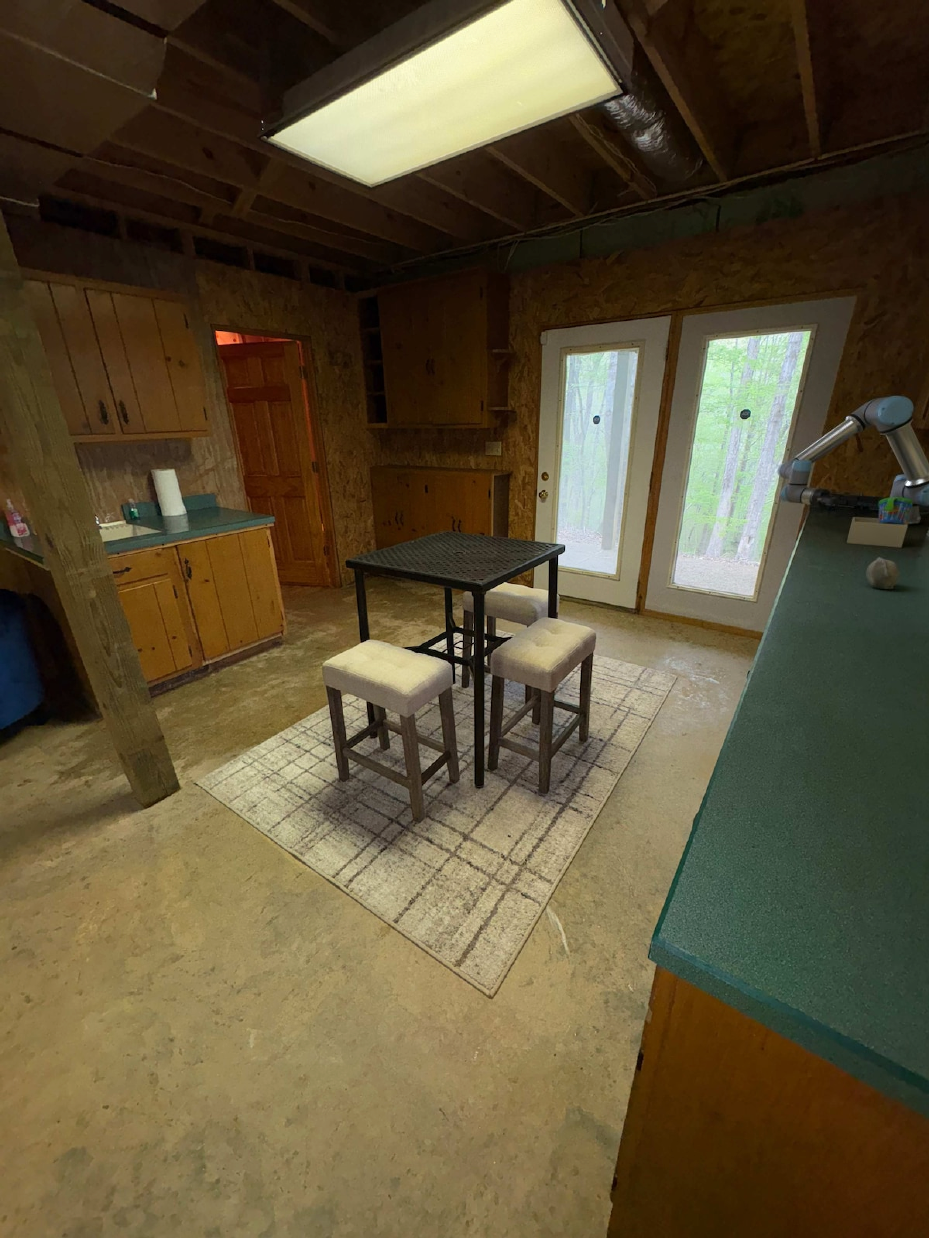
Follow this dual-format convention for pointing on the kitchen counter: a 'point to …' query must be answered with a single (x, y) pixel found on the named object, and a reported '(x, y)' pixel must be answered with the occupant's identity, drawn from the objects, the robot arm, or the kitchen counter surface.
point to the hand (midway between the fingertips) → (867, 502)
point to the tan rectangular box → (876, 532)
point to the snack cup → (894, 510)
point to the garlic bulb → (882, 574)
